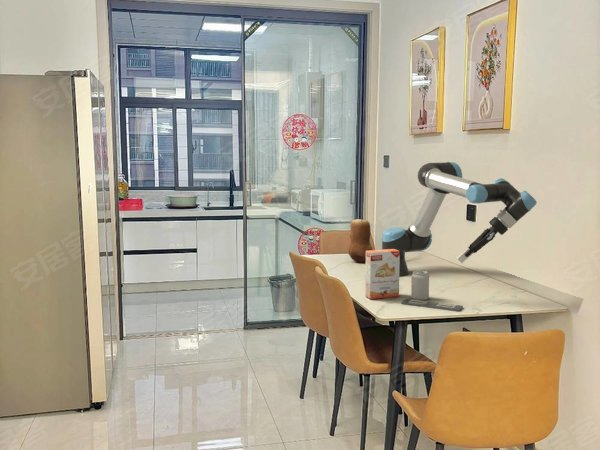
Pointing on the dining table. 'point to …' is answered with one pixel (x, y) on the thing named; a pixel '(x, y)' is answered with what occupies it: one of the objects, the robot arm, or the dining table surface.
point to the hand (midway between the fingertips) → (459, 260)
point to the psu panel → (432, 305)
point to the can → (420, 285)
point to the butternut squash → (359, 240)
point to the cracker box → (382, 273)
